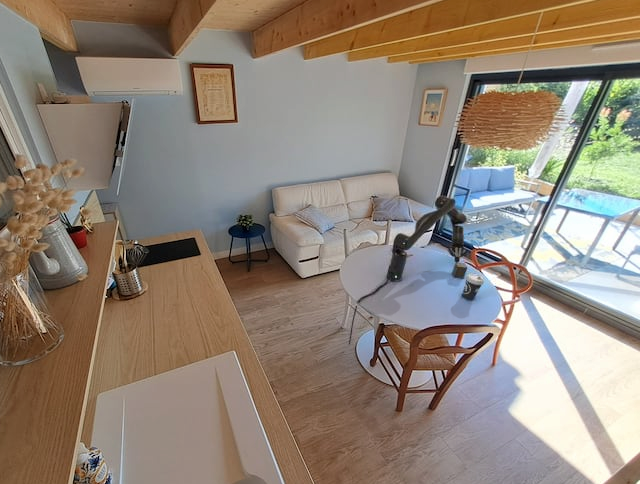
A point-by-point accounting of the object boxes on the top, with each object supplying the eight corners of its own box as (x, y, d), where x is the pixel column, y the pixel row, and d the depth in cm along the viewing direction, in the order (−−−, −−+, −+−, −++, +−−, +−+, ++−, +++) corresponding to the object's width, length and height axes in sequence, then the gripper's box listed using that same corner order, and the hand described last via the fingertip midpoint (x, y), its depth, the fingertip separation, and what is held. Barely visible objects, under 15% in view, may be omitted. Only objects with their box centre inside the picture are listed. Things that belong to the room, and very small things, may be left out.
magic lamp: (412, 264, 215) (415, 252, 209) (387, 262, 218) (390, 249, 213) (410, 260, 221) (414, 247, 215) (386, 257, 224) (389, 245, 219)
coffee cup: (470, 303, 175) (478, 283, 168) (456, 294, 183) (463, 275, 175) (479, 298, 179) (488, 279, 172) (465, 290, 186) (472, 271, 179)
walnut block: (451, 272, 205) (455, 262, 201) (461, 273, 204) (465, 263, 199) (454, 277, 200) (457, 266, 196) (463, 278, 199) (467, 267, 194)
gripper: (449, 237, 208) (448, 259, 204) (469, 239, 205) (469, 262, 201) (446, 240, 215) (445, 262, 211) (465, 242, 212) (464, 264, 208)
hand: (457, 262), depth 206 cm, fingers closed
